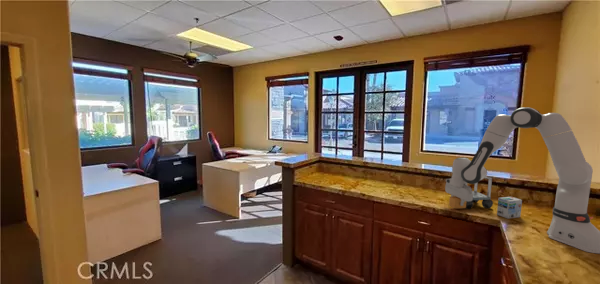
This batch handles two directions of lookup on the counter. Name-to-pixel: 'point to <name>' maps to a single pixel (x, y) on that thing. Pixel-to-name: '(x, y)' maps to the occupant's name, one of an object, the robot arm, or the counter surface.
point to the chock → (456, 202)
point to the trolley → (481, 196)
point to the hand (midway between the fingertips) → (457, 203)
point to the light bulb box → (509, 207)
